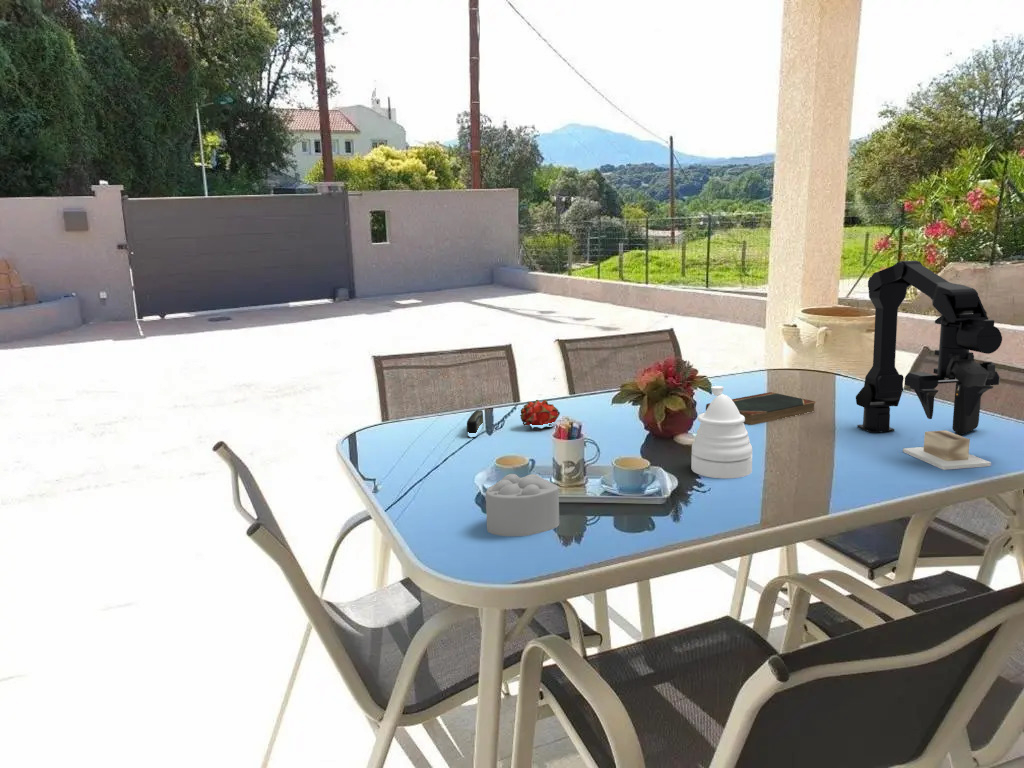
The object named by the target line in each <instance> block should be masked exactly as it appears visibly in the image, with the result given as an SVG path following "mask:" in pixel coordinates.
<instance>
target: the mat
mask: <svg viewBox="0 0 1024 768" xmlns="http://www.w3.org/2000/svg"><path fill="white" fill-rule="evenodd" d="M902 452H903V453H904V454H907V455H908V456H909V455H910V456H911V457H914V458H915V459H917V460H921V461H922V462H925V463H928V464H929V465H932V466H934V467H935V468H937V469H938V468H939V469H941V470H943V471H946V470H958V469H959V470H960V469H972V468H985V467H991V466H992V462H991V461H988V460H986V459H984V458H981V457H979V456H975V455H973V454H970V453H969V456H968V460H955V461H945V460H943V459H941V458H938V457H936V456H934V455H931V454H929V453H927V452H924V446H921V447H920V446H919V447H906V448H902Z"/></svg>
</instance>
